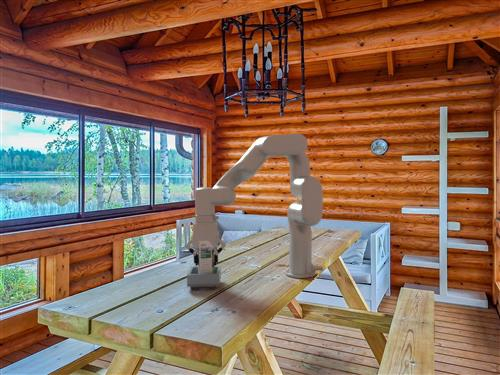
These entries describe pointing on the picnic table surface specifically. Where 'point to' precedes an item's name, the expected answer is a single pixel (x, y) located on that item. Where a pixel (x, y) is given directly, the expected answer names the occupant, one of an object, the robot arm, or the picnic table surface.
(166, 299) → the picnic table surface
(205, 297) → the picnic table surface
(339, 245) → the picnic table surface
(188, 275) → the grey square cubby
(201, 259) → the syrup box
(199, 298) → the picnic table surface
